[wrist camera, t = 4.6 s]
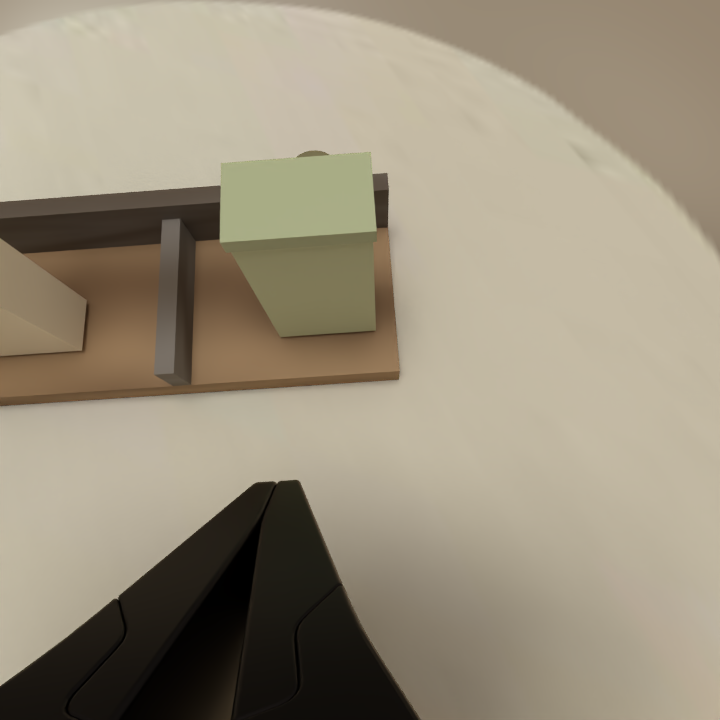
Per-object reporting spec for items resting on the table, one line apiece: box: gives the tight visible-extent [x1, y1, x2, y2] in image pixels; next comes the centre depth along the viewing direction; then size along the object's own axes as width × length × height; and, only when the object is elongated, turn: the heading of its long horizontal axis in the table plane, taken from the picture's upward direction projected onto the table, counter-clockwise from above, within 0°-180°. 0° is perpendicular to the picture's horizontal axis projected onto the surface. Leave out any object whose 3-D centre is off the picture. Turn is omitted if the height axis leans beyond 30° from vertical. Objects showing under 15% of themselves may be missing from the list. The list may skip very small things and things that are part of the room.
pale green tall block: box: [220, 152, 377, 337], centre depth 19 cm, size 3×4×9 cm, turn 93°
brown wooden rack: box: [0, 151, 400, 406], centre depth 23 cm, size 8×19×6 cm, turn 93°
